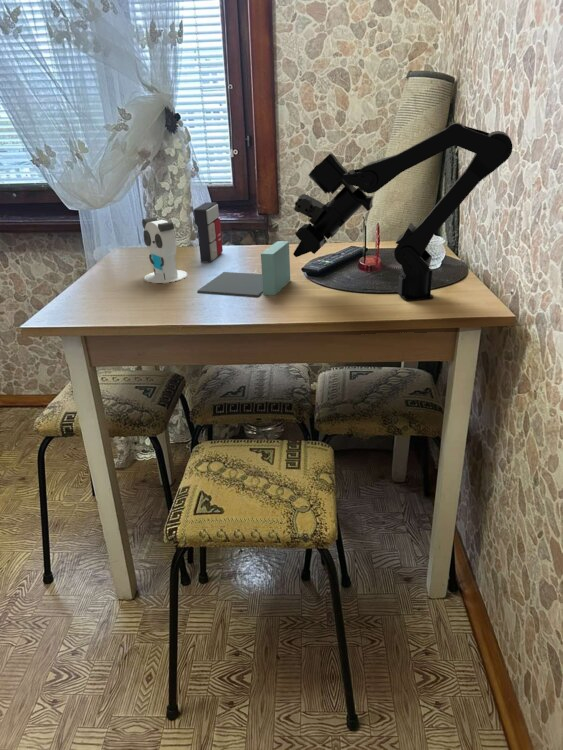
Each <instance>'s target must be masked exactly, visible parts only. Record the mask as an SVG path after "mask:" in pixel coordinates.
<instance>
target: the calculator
mask: <svg viewBox="0 0 563 750" xmlns="http://www.w3.org/2000/svg"><path fill="white" fill-rule="evenodd" d="M219 213H220V211H219V204H218V202H214V201H212V202H211V201H210V202H209V201H207V202H203V204H200V205H199V206H197V207H195V208H194V209H193V219H194V224H195V225H196V227H197V236H198V245H199V246H198V247H199V248H198V249H199V256H200V262H201V263H212V262H213V261H214V260H216V259H217V257H219V255H221V253H223V238H222V228H221V219H220V218H219V217H220V214H219Z"/></svg>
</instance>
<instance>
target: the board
mask: <svg viewBox="0 0 563 750" xmlns="http://www.w3.org/2000/svg"><path fill="white" fill-rule="evenodd" d="M290 259H291V258H290V242H289V241H281V240H279V241H278V240H277V241H276V242H274V243H273V244H272V245H270V246H268V247H267V249H265V250H263V251H262V252H261V253H260V265H261V274H262V283H263V293H262V295H263V296H276V295H277V294H278V293H279V292H280V291H281V290H282V289H283V288H285V286H287V284H288V283H290V281H291V265H290V264H291V260H290Z"/></svg>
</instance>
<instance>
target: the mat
mask: <svg viewBox="0 0 563 750" xmlns="http://www.w3.org/2000/svg"><path fill="white" fill-rule="evenodd" d="M198 293H199V294H213V295H226V296H227V295H228V296H239V297H256V298H259V297H260V296H261V295H263V283H262V273H246V272H231V271H230V272H228V271H223V272H222V273H220V274H218V275H217V276H216V277H214V278H213V279H211V280H210V281H209V282H207V283H206V284H205V285H203V286H201V287H200V288H199V289H198V290H197V294H198Z"/></svg>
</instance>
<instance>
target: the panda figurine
mask: <svg viewBox="0 0 563 750" xmlns="http://www.w3.org/2000/svg"><path fill="white" fill-rule="evenodd" d="M141 224H142V228H143V229H144V230H143V241H144V245H145V246H146V248H147V250H148V252H149V261H150V263H151V264H152V267H153V272H150V273H148V274H146V275H145V276H144V281H145V280H146V281H145V282H147V283H149V282H152V283H151V284H156V283H163V284H170V283H169V282H172V283H176V282H175V281H177V282H180V281H183V280H185V279H186V278H187V277H188V272H186V271H185V270H180V269H178V268H177V262H176V261H177V260H176V253H177V249H178V248H177V240H176V234H175V230H174V229H175V225H174V223H173V222H172V221H169V222H168V221H167V220H165V219H160V220H159V219H158V218H157V217H156V216H154V217H153V216H152V217H148V218H142V220H141ZM184 278H185V279H184ZM182 279H183V280H182ZM179 280H180V281H179Z"/></svg>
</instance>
